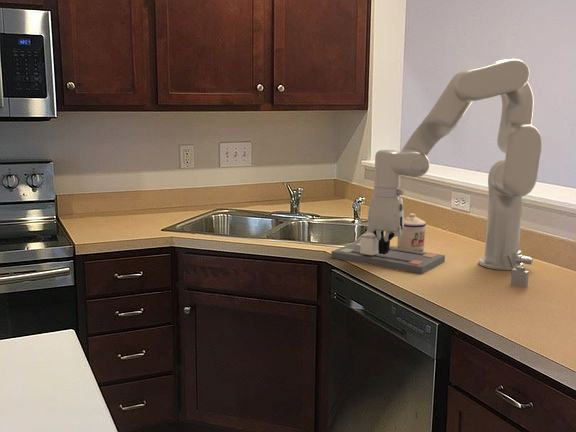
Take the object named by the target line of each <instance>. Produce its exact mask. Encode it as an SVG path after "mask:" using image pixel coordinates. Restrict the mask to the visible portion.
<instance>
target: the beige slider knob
mask: <svg viewBox="0 0 576 432" xmlns="http://www.w3.org/2000/svg"><path fill="white" fill-rule="evenodd" d="M360 242H361V247H360V253H361V254H367V255H374V254H377V253H378V242H379V240H377V237H376V236H375V235H374V234H370V233H367V232H366V233H364V234H360Z"/></svg>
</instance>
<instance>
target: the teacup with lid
mask: <svg viewBox="0 0 576 432" xmlns="http://www.w3.org/2000/svg"><path fill="white" fill-rule="evenodd" d="M426 223H427V222H426V220H423V219H421V218H419V217H417V216H416V213H409V214H408V216H406V217H404V228H403V229H402V235H401V236H397V244H396V245H397V246H396V248H402V249H408V250H415V251H421V252H423V250H424V249H425V237H426V236H425V235H426V225H427V224H426Z"/></svg>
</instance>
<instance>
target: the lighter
mask: <svg viewBox="0 0 576 432" xmlns="http://www.w3.org/2000/svg"><path fill="white" fill-rule="evenodd" d="M502 258H503V261H504V264H505V267H506V269H507V270H506V271H511V275H510V276H511V277H510V284H509V285H510V286H513V287H518V288H521V289H522V288H523V289H527V288H528V284H529V275H530V271H528V270H526V268H525V266H523V267H520V266H517V267H516V269H514V267H513V264H512V261H511V259H510V256H509V254H507V255H504V256H502Z"/></svg>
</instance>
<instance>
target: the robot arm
mask: <svg viewBox="0 0 576 432" xmlns="http://www.w3.org/2000/svg"><path fill="white" fill-rule="evenodd" d="M530 72H531V71H530V68H529V66H528V65H527V63H526V62H524V61H523V60H521V59H518V58H509V59H501V60H497V61H495V62H494V63H492V64H491V65H488V66H483V67H480V68H479V67H478V68H475V69H468V70H466V69H465V70H462V71H459V72H457V73H456V74H455V75H454V76H453V77H452V78H451V79H450V81H449V82H448V83H447V85H446V87H445V88H444V90H443V91H442V93H441V95H440V96H439V98H438V99H437V101H436V103H435V104H434V105H433V107H432V108H431V110H430V112H428V114H427V115H426V117H424V118H423V120H422V121H421V123H420V124H419V125H418V127H417V128H415V131H414V132H413V133H412V134H411V136H410V137H409V139H408V140H407V141H406V143H405V145H404V146H403V148H402V149H401V151H398V150H394V149H381V150H378V151H376V153H375V155H374V156H375V157H374V174H373V175H374V176H373V177H374V178H373V195H372V196H371V198H370V201H369V206H368V213H367V228H368V231H369V232H371V233H374V235H375V236H376V237H377V240H379V242H378V250H379V254H387V253H388V251H389V250H390V247H391V241H392V239H393V238H395V237H397V238H398V236H401V235H402V229H403V228H404V218H405V213H404V203H403V201H404V200H403V198H402V197H400V196H403V195H404V194H405V191H404V190H402V189H401V176H404V177H410V178H420V177H422V176H424V175H426V173H428V171H429V169H430V163H431V162H430V159H429V158H428V155H429V154H430V152H431V151H432V150H433V148H434V147H435V145H436V144H438V143H439V141H440V140H442V139H443V138H445V137H446V136H447V135H449V134H450V133H452V131H454V130H455V129H456V127H457V126H458V124H459V122H460V121H461V120H462V118H463V116H464V115H465V113H466V112H467V111H468V109H469V107H470V106H471V105H472V103H473V102H477V101H481V100H485V99H489V98H495V97H497V96H500V98H501V104H502V105H501V114H500V115H501V116H500V123H499V129H498V134H497V140H496V141H497V146H498V149H499V150H500V151H501V152H502V153H504V154H505V158H504V159H501V160H498V161H497V162H495V163H494V164H493V165H491V168H490V169H489V171H488V174H487V175H488V177H487V184H488V185H487V186H488V189H487V190H488V203H487V205H488V206H487V221H486V234H485V246H484V256H483V257H480V258H479V259H478V264H479V265H480V266H481V267H485V268H488V269H492V270H498V271H499V270H500V271H507V269H506V267H505V264H504V261H503V258H502V256H504V255H507V254H509V256H510V259H511V261H512V264H513V267H514V269H516V267H517V266H520V267H524V264H526V265H531V266H532V265H533V262H534V258H531V257H532V256H525V255H523V254H522V250H520V238H521V225H522V215H523V197H525V196H527V195H529V194H530V193H531V192H532V191H533V189H534V188H535V186H536V183H537V179H538V175H539V169H540V162H541V157H542V150H543V139H542V136H541V133H540V130H538V129H537V128H536V126H534V125H532V124H533V123H532V122H533V113H534V106H535V104H534V103H535V102H534V93H533V90H532V87H531V85H530V83H529V78H530V77H531V76H530V74H531V73H530Z"/></svg>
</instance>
